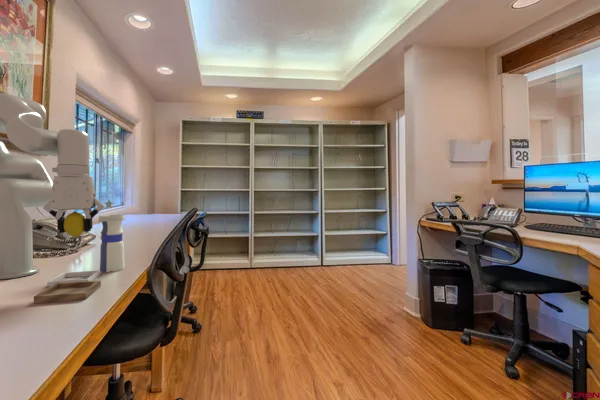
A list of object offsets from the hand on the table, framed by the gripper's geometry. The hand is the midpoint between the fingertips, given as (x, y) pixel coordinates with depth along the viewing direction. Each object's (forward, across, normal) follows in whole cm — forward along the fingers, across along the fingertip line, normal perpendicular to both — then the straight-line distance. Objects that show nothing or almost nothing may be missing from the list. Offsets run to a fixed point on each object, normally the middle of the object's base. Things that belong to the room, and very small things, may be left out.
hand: (75, 231), depth 88 cm
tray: (+16, +2, -10) cm, 19 cm away
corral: (+16, -2, +4) cm, 16 cm away
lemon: (+2, 0, 0) cm, 2 cm away
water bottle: (+16, +5, +16) cm, 23 cm away
